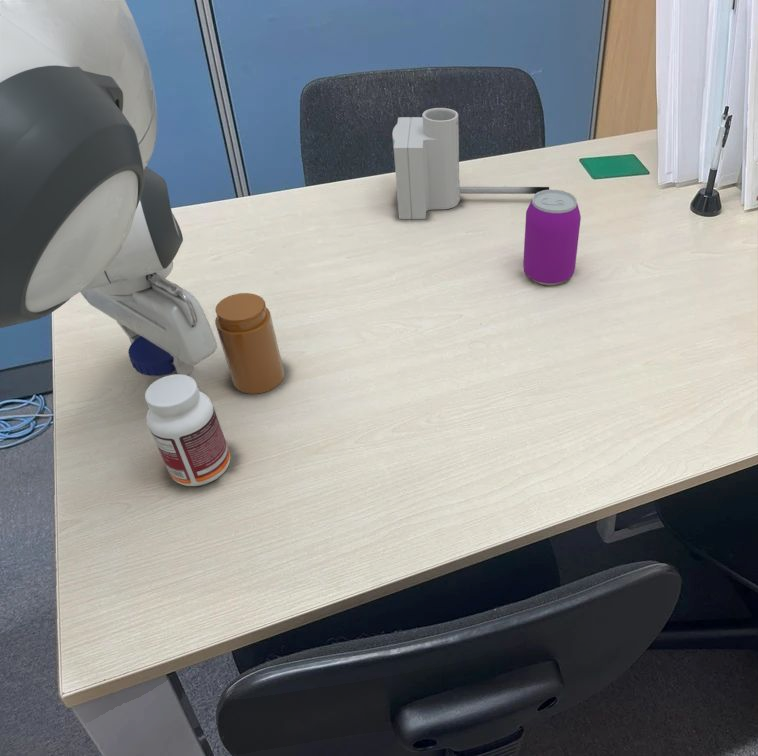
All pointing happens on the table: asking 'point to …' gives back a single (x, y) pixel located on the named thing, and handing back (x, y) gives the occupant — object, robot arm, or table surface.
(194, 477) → the pill bottle
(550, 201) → the beverage can
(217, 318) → the jar
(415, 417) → the table surface
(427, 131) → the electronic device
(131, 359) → the lid
